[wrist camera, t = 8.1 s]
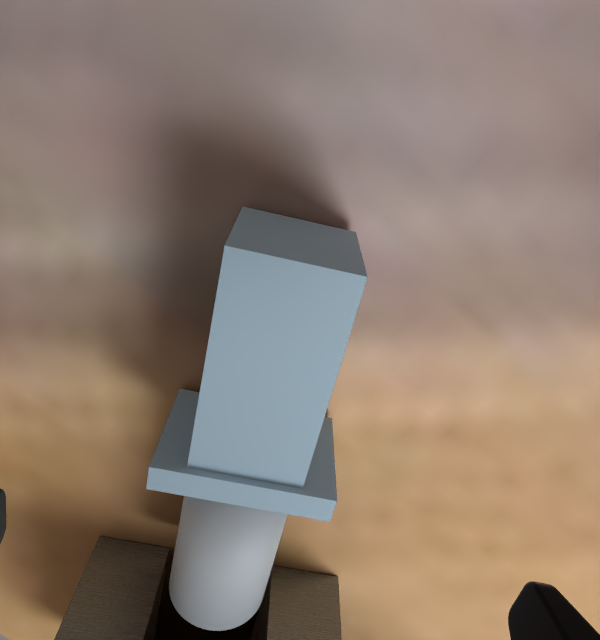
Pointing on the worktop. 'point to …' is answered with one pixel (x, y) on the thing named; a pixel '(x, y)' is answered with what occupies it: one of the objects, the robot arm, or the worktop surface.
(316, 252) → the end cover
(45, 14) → the worktop surface
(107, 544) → the block
